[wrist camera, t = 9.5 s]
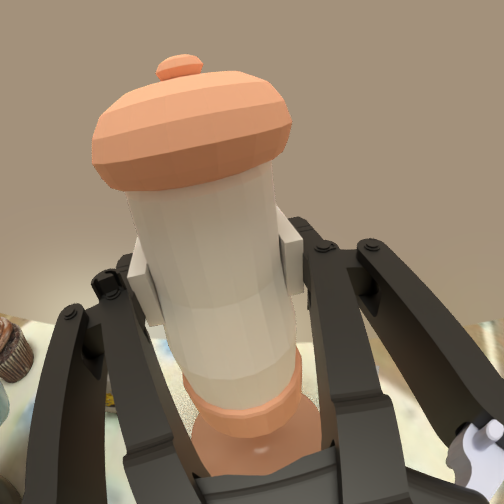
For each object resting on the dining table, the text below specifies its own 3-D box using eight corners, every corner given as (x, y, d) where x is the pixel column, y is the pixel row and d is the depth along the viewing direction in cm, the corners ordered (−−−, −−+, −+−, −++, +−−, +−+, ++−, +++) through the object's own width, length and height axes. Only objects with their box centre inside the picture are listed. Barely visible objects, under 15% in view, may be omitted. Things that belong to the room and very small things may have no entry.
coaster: (170, 464, 21) (168, 462, 21) (226, 370, 31) (225, 368, 31) (299, 511, 16) (299, 511, 16) (338, 398, 26) (339, 395, 26)
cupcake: (18, 395, 26) (-24, 349, 21) (-8, 376, 28) (-43, 334, 23) (46, 350, 34) (12, 302, 29) (17, 338, 36) (-12, 295, 30)
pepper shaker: (323, 389, 17) (333, 40, 7) (240, 459, 14) (88, 43, 3) (253, 336, 22) (210, 65, 12) (177, 387, 19) (64, 97, 8)
